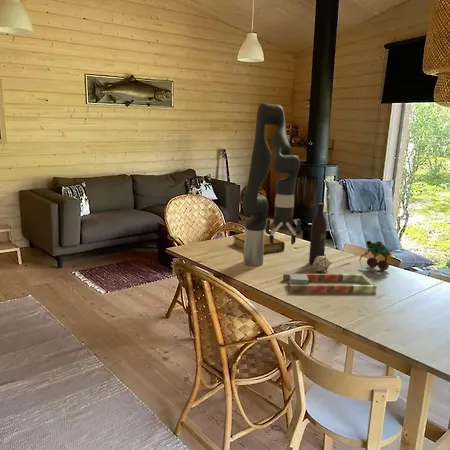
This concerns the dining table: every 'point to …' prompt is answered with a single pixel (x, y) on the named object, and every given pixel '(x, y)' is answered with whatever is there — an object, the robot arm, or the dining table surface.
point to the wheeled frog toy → (377, 250)
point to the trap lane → (365, 288)
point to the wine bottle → (318, 234)
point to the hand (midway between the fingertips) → (282, 243)
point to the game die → (321, 263)
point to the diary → (268, 247)
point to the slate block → (298, 279)
